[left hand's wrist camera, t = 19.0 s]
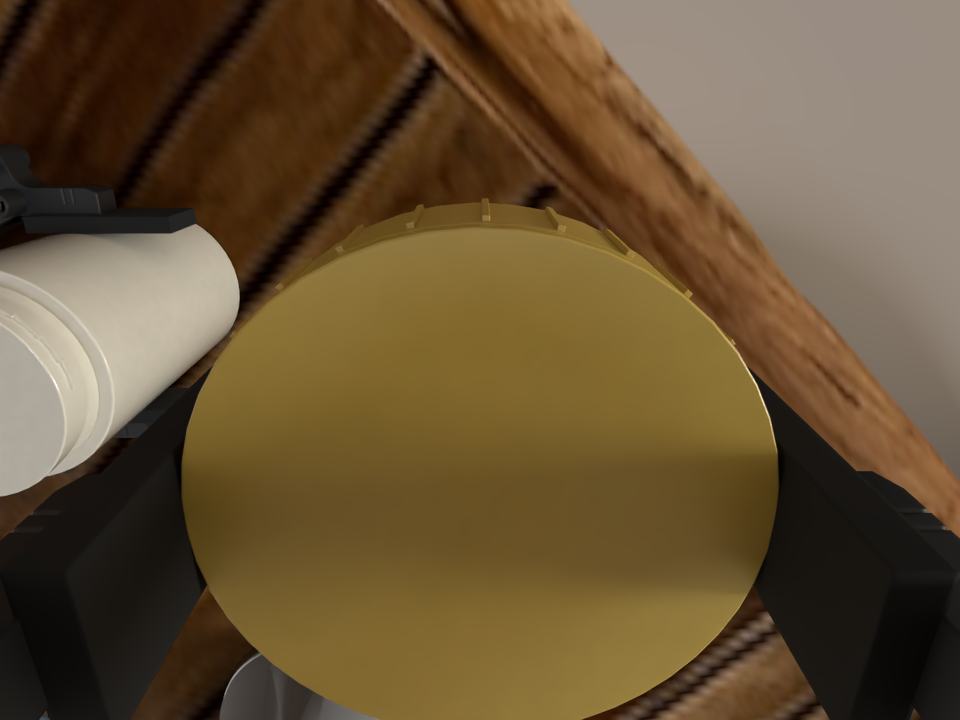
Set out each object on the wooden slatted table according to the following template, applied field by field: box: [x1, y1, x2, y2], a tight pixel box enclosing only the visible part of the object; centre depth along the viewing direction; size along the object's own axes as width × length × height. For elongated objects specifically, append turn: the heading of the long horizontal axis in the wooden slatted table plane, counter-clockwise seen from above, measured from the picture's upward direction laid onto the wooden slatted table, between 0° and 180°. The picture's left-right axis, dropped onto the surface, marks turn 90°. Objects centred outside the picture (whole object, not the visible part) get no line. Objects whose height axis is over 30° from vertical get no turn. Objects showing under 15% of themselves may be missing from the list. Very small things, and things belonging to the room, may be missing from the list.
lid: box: [181, 199, 779, 720], centre depth 11 cm, size 9×9×2 cm
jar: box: [0, 224, 239, 496], centre depth 29 cm, size 9×9×16 cm
